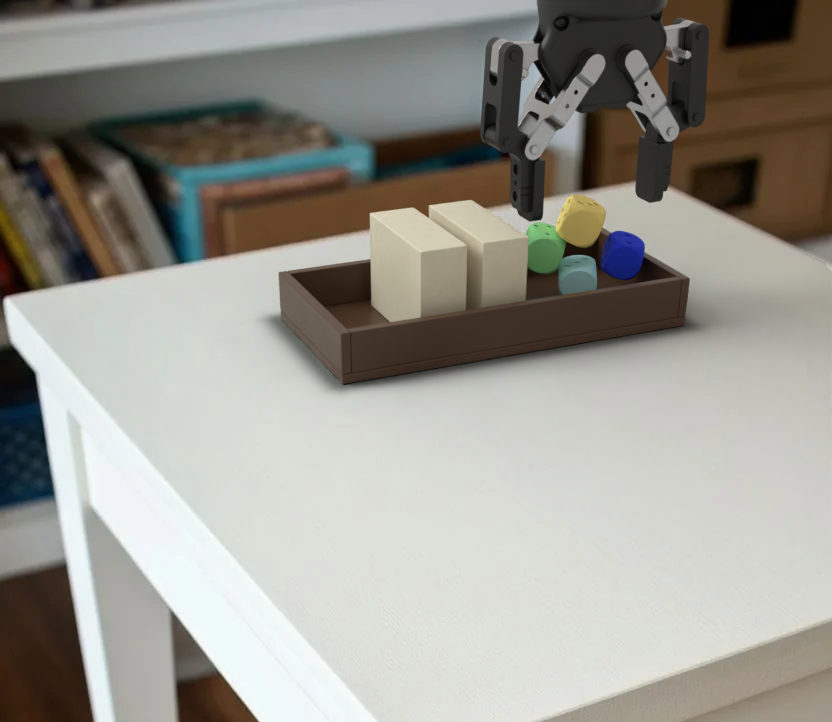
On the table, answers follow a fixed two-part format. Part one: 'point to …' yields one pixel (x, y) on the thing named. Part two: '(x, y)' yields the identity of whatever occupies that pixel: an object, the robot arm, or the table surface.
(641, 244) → the dice
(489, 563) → the table surface
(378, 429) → the table surface
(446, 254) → the block
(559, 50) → the robot arm
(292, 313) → the tray
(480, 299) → the block
